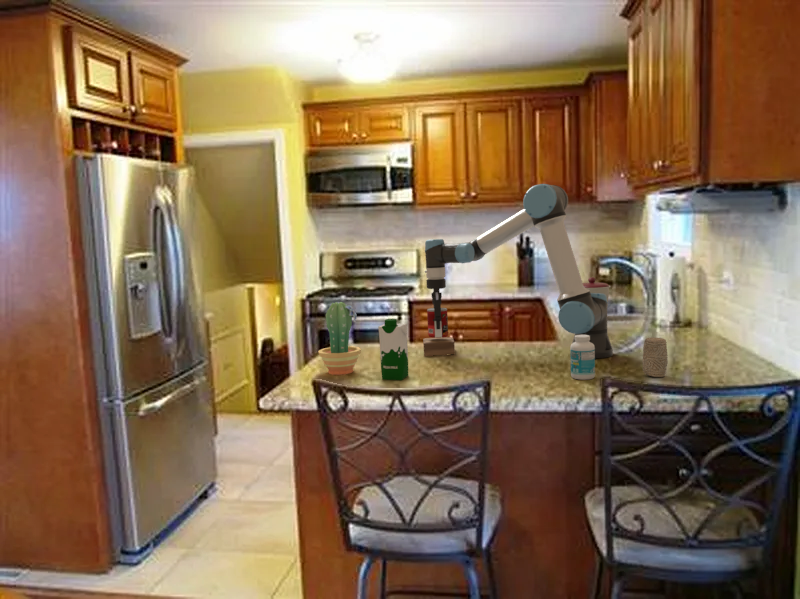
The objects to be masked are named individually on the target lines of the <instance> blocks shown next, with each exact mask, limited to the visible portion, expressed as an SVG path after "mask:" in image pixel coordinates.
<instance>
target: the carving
mask: <svg viewBox="0 0 800 599" xmlns="http://www.w3.org/2000/svg"><path fill="white" fill-rule="evenodd" d="M642 347H643V348H642V352H643V354H642V372H643V374H644V375H646V376H650V377H653V378H664V377H665V376H666V374H667V372H666V371H667V367H668V362H669V360H668V349H667V348H668V347H667V340H666V339H665V338H662V337H646V338H645V339H644V341H643V346H642Z"/></svg>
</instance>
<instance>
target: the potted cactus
mask: <svg viewBox="0 0 800 599" xmlns="http://www.w3.org/2000/svg"><path fill="white" fill-rule="evenodd" d="M357 317H358V316H357V313H356V311H355V309H354V307H353V306H352V305H350V304H349V305H348V304H346V303H345V302H342V301H340V302H337V301H335V303H334V302H331V305H330V306H329V308H328V309H327V310H326V313H325V322H326V328H327V330H328V333H329V344H330V346H329V347H325V348H321V349H319V350H318V355H319V357H320V358H321V359H322V362H323V364H324V365H325V367H326V368H327V371H328V372H327V373H328V374H329V375H332V376H333V375H335V376H336V375H338V376H339V375H349V374H351V373H353V372H354V369H353V368H354V367H355V365H356V364H357V362H358V358H359V355H360V354H361V353H362V349H361V348H360V347H358V346H353V345H352V346H349V340H350V332H351V329H352V325H353V323H355V322H356V320H357Z"/></svg>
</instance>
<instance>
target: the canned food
mask: <svg viewBox="0 0 800 599" xmlns="http://www.w3.org/2000/svg"><path fill="white" fill-rule="evenodd" d="M426 316H427V319H426V320H427V334H428V338H435V323H434V321H433V319H435V313H434V307H431V308H427V310H426ZM441 318H442V319H441V323H442V337H436V338H446V337H448V335H449V325H448V322H449V321H448V320H449V319H448V309H447V308H446V307H441Z"/></svg>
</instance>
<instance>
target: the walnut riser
mask: <svg viewBox="0 0 800 599" xmlns="http://www.w3.org/2000/svg"><path fill="white" fill-rule="evenodd" d="M422 340H423V357H434V356H433V355H442V356H448V355H447V354H455V355H456V352H455V351H456V350H455V347H456V346H455V340H454V338H453V336H452V337H451V336H449V337H448V336H447V337H441V338H433V337H426V338H425V337H424V338H423V339H422Z"/></svg>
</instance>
